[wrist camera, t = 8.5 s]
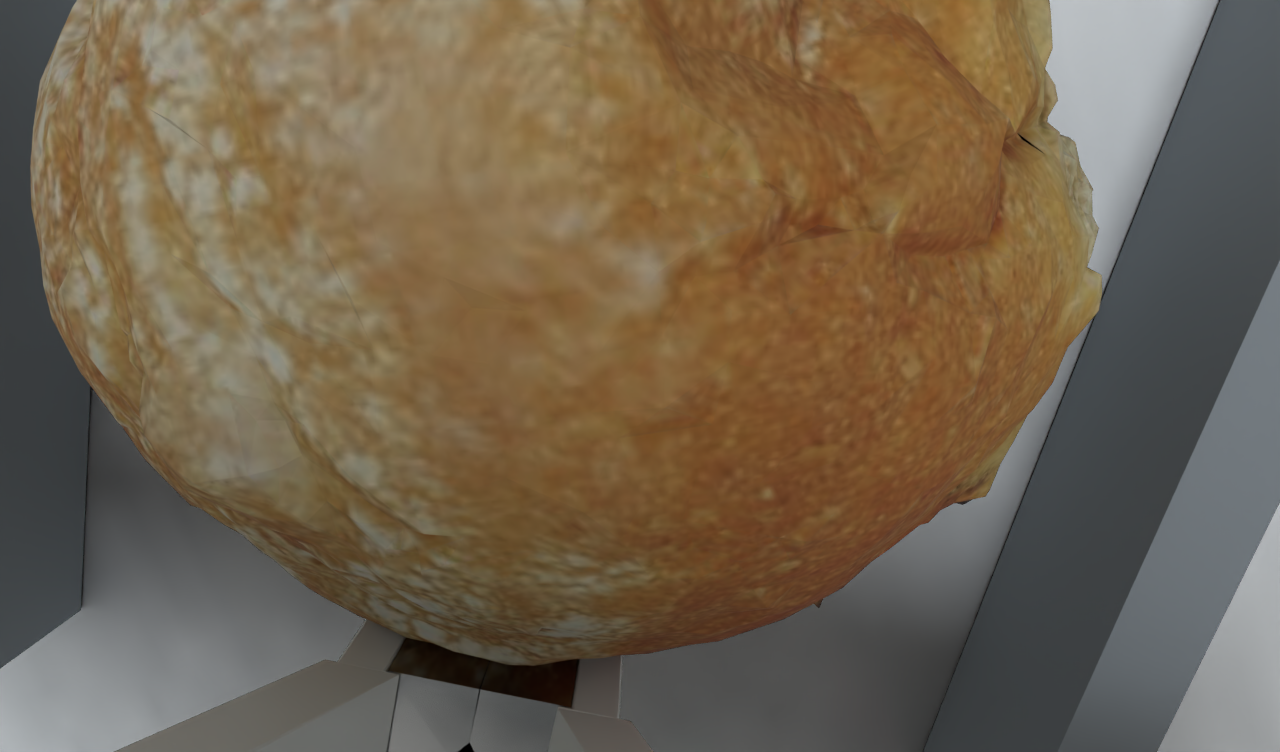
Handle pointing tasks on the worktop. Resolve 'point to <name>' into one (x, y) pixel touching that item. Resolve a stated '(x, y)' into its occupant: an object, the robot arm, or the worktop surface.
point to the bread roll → (564, 290)
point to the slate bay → (1059, 488)
